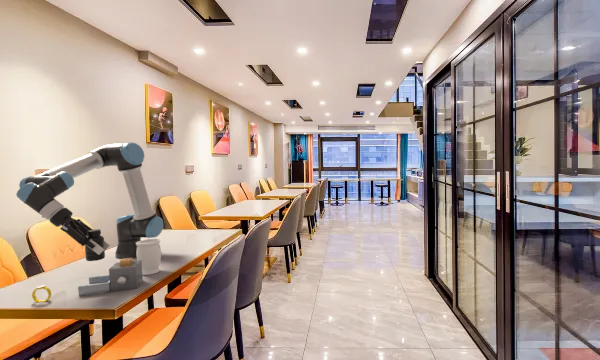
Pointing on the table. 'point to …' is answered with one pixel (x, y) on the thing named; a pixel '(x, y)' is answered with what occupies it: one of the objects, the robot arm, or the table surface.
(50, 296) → the watch
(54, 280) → the table surface
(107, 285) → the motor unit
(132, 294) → the table surface
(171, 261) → the table surface
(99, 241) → the supplement bottle
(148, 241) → the jar
